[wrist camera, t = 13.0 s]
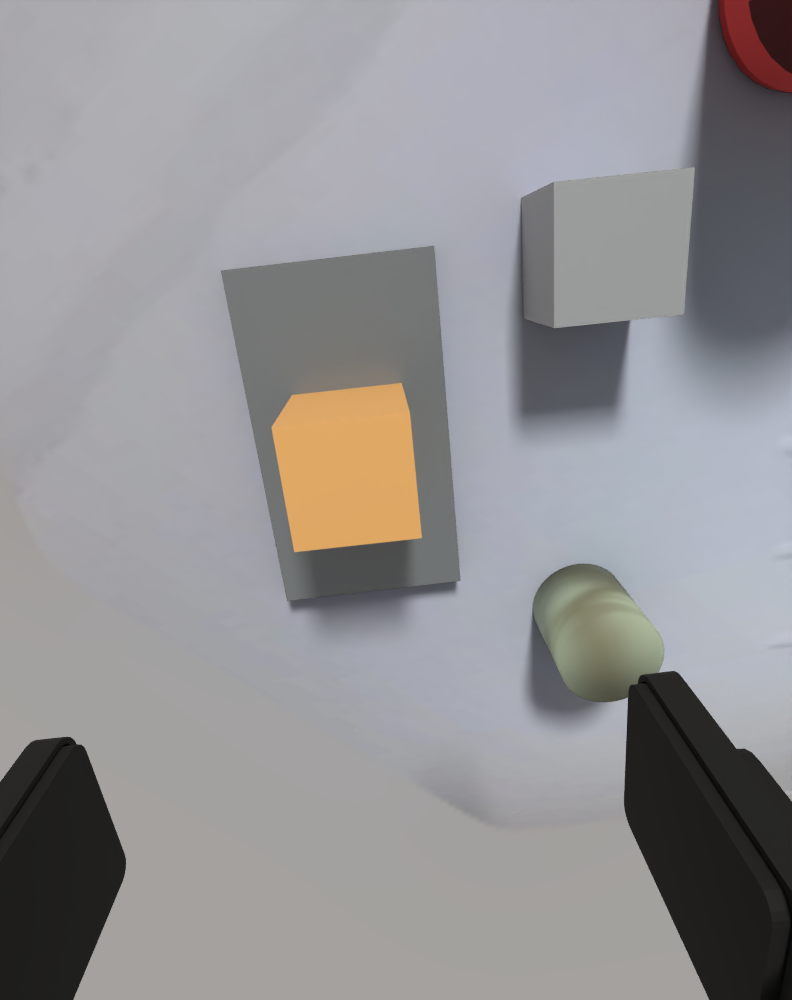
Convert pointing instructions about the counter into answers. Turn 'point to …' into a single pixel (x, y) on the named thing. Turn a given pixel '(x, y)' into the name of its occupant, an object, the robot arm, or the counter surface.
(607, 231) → the grey block
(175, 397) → the counter surface
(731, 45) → the canned food
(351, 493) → the orange block
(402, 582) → the slate board
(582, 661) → the sage cylinder
